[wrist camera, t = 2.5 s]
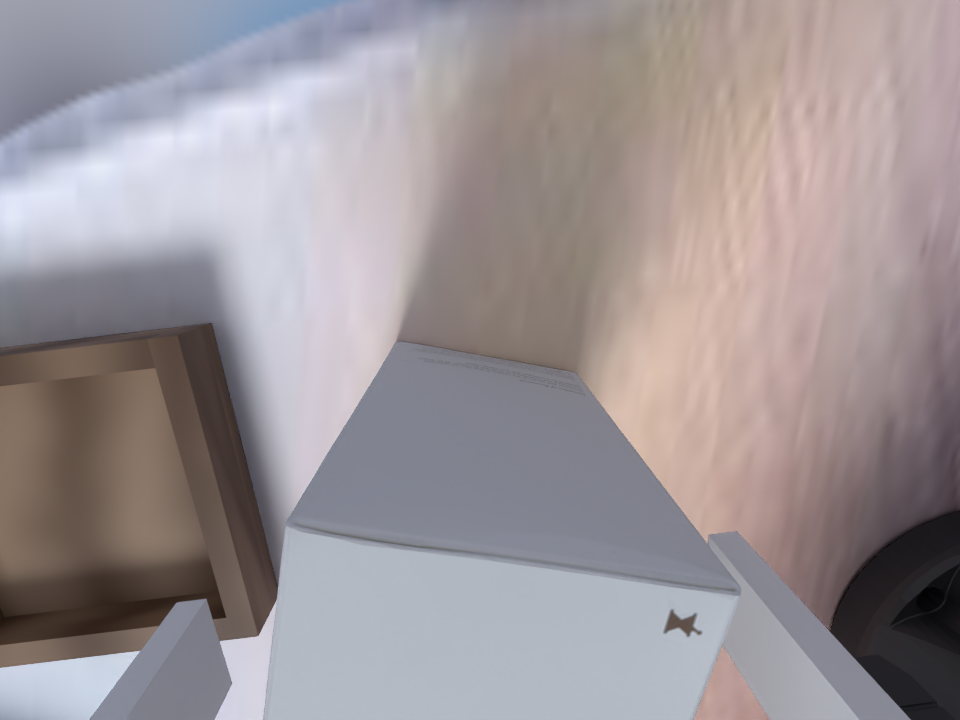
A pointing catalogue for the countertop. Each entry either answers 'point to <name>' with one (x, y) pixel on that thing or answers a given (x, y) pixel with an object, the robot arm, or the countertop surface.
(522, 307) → the countertop surface
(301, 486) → the countertop surface
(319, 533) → the supplement box
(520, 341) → the countertop surface
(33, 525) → the brown wooden tray
